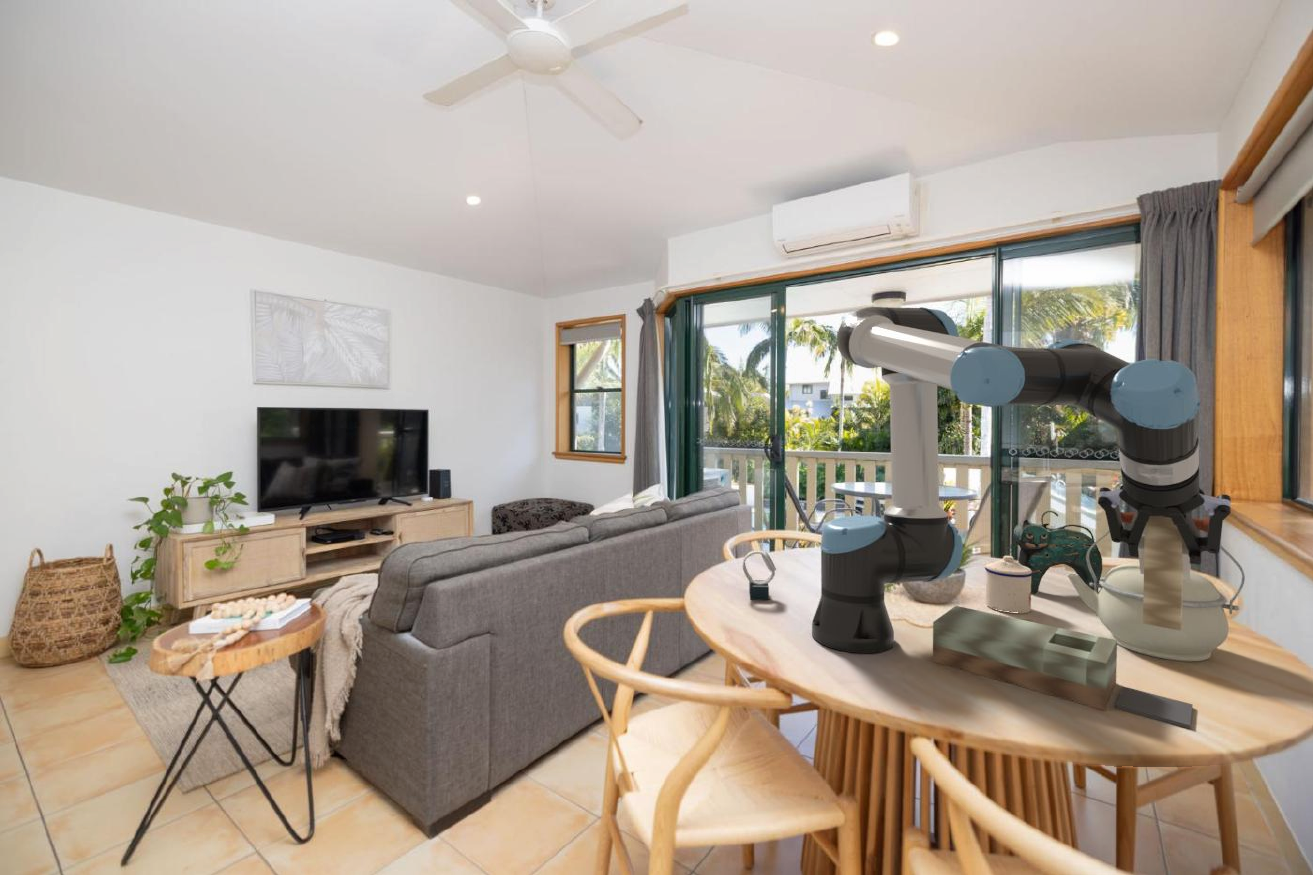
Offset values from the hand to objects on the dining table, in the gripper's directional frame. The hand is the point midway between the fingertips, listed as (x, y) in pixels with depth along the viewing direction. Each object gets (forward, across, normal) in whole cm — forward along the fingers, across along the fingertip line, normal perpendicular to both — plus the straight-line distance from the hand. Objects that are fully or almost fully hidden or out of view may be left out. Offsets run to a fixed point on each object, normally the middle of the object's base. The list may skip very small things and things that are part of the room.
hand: (1165, 569), depth 84 cm
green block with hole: (+12, -18, -16) cm, 27 cm away
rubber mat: (+12, -1, -16) cm, 20 cm away
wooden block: (+2, 0, -8) cm, 8 cm away
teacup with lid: (+37, -29, +9) cm, 48 cm away
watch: (+14, -73, -14) cm, 75 cm away
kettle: (+33, -4, +5) cm, 34 cm away
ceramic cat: (+52, -23, +24) cm, 62 cm away
